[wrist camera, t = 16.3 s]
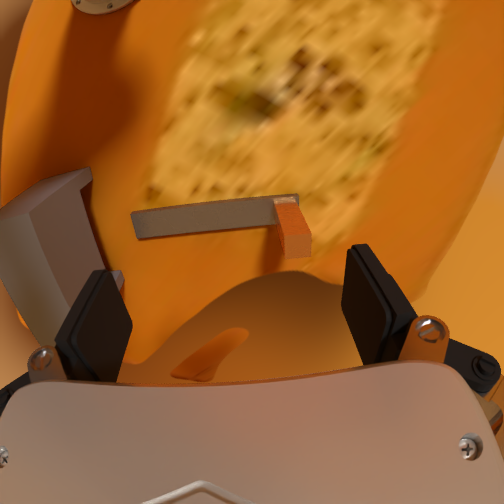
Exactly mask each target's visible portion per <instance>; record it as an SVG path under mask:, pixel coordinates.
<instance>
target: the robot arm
mask: <svg viewBox="0 0 504 504" xmlns="http://www.w3.org/2000/svg"><path fill="white" fill-rule="evenodd" d="M71 1H72V3H73V5H74V6H75V7H76V8H77V9H79V10H80V11H82V12H85V13H88V14H92V15H101V14H107V13H111V12H114V11H117V10H119V9H121V8H123V7H125V6H127V5H128V4H130V3H131V2H133V1H134V0H71ZM112 6H113V7H112ZM111 7H112V8H111ZM341 307H342V311H343V314H344V316H345V318H346V321H347V324H348V326H349V329H350V331H351V334H352V336H353V339H354V341H355V344H356V347H357V349H358V352H359V354H360V357H361V360H362V362H363V366H358V367H352V368H347V369H340V370H333V371H327V372H320V373H313V374H306V375H299V376H291V377H282V378H272V379H262V380H250V381H237V382H222V383H197V384H136V383H135V384H134V383H116V381H117V377H118V374H119V370H120V367H121V364H122V360H123V357H124V354H125V350H126V347H127V344H128V341H129V337H130V334H131V331H132V327H133V325H132V320H131V318H130V315H129V313H128V311H127V309H126V306H125V304H124V302H123V299H122V297H121V294H120V292H119V289H118V287H117V284H116V282H115V279H114V277H113V275H112V273H111V272H108V270H106V269H101V270H93V271H92V273H91V275H90V276H89V278H88V279H87V281H86V283H85V284H84V286H83V288H82V290H81V291H80V293H79V295H78V296H77V298H76V300H75V302H74V303H73V305H72V307H71V309H70V311H69V312H68V314H67V316H66V318H65V320H64V322H63V324H62V325H61V327H60V329H59V331H58V333H57V335H56V337H55V339H54V341H55V342H56V345H55V347H53V346H50V345H45V346H42V347H40V348H38V349H36V350H35V351H34V352H33V353H32V354H31V356H30V357H29V359H28V363H27V366H28V372H26V373H25V374H23V375H22V376H20V377H19V378H17V379H16V380H14V381H13V382H11V383H10V384H8V385H7V386H5V387H4V388H2V389H1V390H0V504H504V376H503V375H502V374H501V368H500V365H499V363H498V362H497V360H496V359H495V358H494V357H493V356H491V355H489V354H487V353H485V352H482V351H480V350H477V349H475V348H472V347H470V346H467V345H465V344H462V343H460V342H458V341H455V340H453V339H450V338H449V329H448V327H447V325H446V324H445V323H444V322H443V321H442V320H440V319H438V318H436V317H434V316H429V315H426V316H420V317H418V316H417V314H416V312H415V311H414V309H413V308H412V306H411V304H410V303H409V301H408V300H407V298H406V297H405V295H404V294H403V292H402V290H401V289H400V287H399V286H398V284H397V283H396V281H395V280H394V278H393V277H392V276H391V275H390V274H388V273H387V272H386V270H385V269H384V267H383V266H382V264H381V263H380V261H379V260H378V259H377V257H376V256H375V254H374V253H373V251H372V250H371V249H370V247H369V246H368V245H367V244H357V245H352V247H351V249H348V250H347V257H346V267H345V276H344V285H343V293H342V301H341Z"/></svg>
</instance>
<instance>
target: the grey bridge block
mask: <svg viewBox="0 0 504 504" xmlns="http://www.w3.org/2000/svg"><path fill="white" fill-rule="evenodd" d="M92 180H93V178H92V174H91V170H90V167H87V168H83V169H79V170H75V171H71V172H68V173H64V174H60V175H57V176H53V177H50V178H47V179H43V180H40V181H39V182H37V183H36V184H34V185H33V186H31V187H30V188H28V189H27V190H25V191H24V192H23V193H21V194H20V195H18V196H17V197H16V198H14V199H13V200H11V201H10V202H9V203H7V204H6V205H5V206H3V207H2V208H1V209H0V278H1V280H2V282H3V284H4V286H5V288H6V290H7V292H8V293H9V295H10V297H11V299H12V300H13V302H14V304H15V306H16V308H17V309H18V311H19V313H20V314H21V316H22V318H23V319H24V321H25V323H26V324H27V326H28V327H29V329H30V331H31V332H32V334H33V335H34V337H35V338H36V340H37V341H38V343H39V344H40V345H41V347H42V346H45V345H50V346H53V347H55V345H56V342H55V341H54V339H55V337H56V335H57V333H58V331H59V329H60V327H61V325H62V324H63V322H64V320H65V318H66V316H67V314H68V312H69V311H70V309H71V307H72V305H73V303H74V302H75V300H76V298H77V296H78V295H79V293H80V291H81V290H82V288H83V286H84V284H85V283H86V281H87V279H88V278H89V276H90V275H91V273H92V271H93V270H101V269H105V266H104V263H103V261H102V258H101V255H100V253H99V250H98V247H97V244H96V241H95V238H94V235H93V232H92V229H91V226H90V223H89V220H88V217H87V214H86V210H85V207H84V204H83V200H82V197H81V193H80V189H82V188H83V187H84V186H85V185H87V184H88V183H89V182H90V181H92ZM108 272H111V273H112V275H113V277H114V279H115V282H116V284H117V287H118V289H119V291H120V289H121V286H122V284H123V282H124V277H123V275H122V272H121V270H119V271H108Z"/></svg>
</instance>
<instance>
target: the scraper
mask: <svg viewBox="0 0 504 504" xmlns="http://www.w3.org/2000/svg"><path fill="white" fill-rule="evenodd" d="M130 215H131V218H132V222H133V226H134V229H135V233H136V237H137V239H138V238H146V237H155V236H163V235H172V234H181V233H191V232H200V231H210V230H220V229H230V228H240V227H250V226H261V225H272V224H276V228H277V231H278V235H279V239H280V242H281V246H282V250H283V254H284V258H285V259H292V258H302V257H311V231H310V229H309V227H308V225H307V223H306V221H305V219H304V217H303V215H302V213H301V211H300V208H299V196H298V194H284V195H271V196H260V197H249V198H239V199H229V200H219V201H210V202H201V203H193V204H184V205H176V206H169V207H161V208H154V209H146V210H139V211H133V212H132V213H131V214H130Z"/></svg>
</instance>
